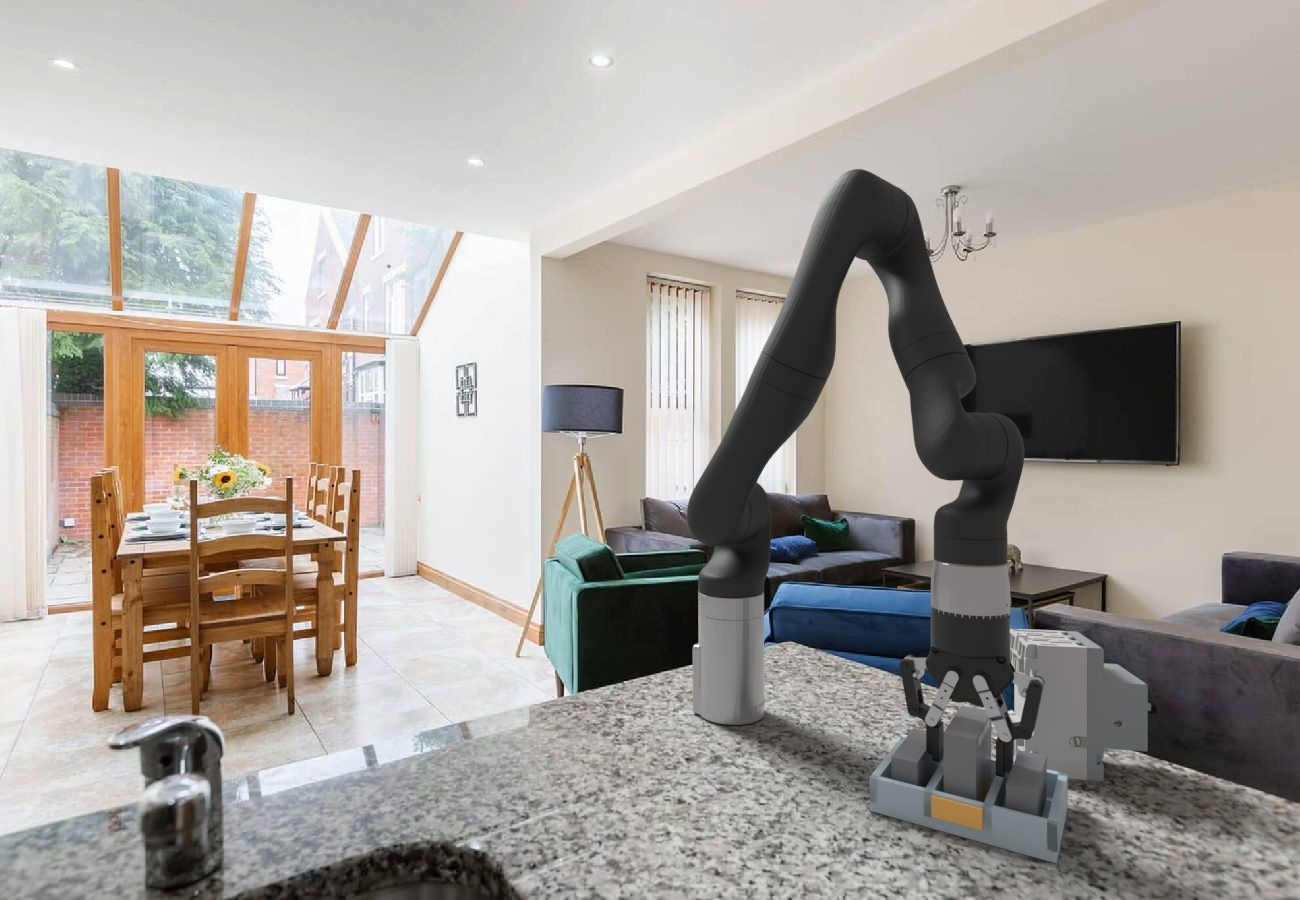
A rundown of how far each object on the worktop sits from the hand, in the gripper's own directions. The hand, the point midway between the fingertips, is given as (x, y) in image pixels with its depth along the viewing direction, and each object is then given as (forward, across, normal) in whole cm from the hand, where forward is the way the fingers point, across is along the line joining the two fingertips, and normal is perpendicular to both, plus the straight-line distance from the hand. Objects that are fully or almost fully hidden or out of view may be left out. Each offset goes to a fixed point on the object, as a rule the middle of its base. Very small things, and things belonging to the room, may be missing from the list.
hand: (969, 765), depth 75 cm
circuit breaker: (+5, +9, +18) cm, 21 cm away
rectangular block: (+3, 0, 0) cm, 3 cm away
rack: (+4, 0, 0) cm, 4 cm away
